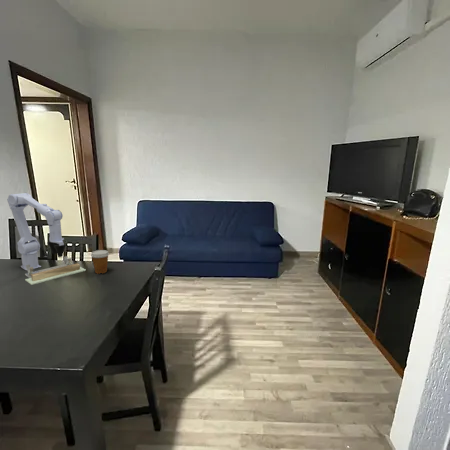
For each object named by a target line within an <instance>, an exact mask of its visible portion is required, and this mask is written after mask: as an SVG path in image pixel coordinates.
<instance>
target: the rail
mask: <svg viewBox="0 0 450 450" xmlns="http://www.w3.org/2000/svg"><path fill="white" fill-rule="evenodd" d="M80 267H81V265H80V263H78V262H76V263H74V264H70V265H68V266H64V267H60V268H56V269H51V270H47V271H43V272H39V273H35V274H31V279H32V280H33V281H37V280H41V279H44V278H48V277H52V276H56V275H60V274H64V273H68V272H72V271H75V270H79V269H80Z"/></svg>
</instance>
